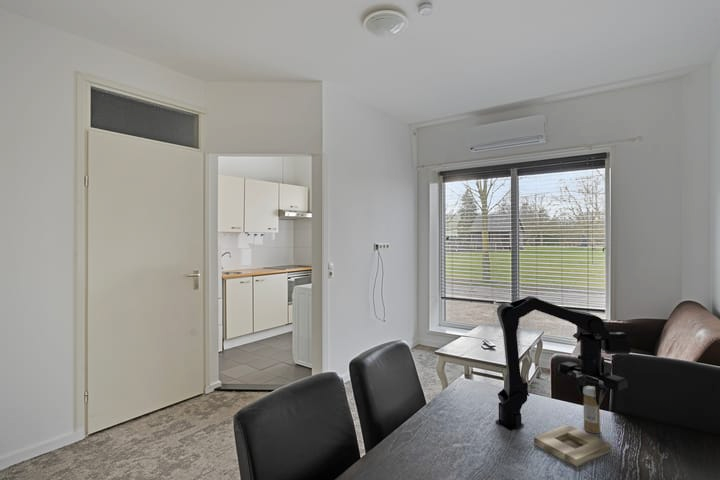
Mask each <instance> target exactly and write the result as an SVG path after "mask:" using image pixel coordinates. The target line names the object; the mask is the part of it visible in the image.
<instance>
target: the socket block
mask: <svg viewBox="0 0 720 480" xmlns="http://www.w3.org/2000/svg"><path fill="white" fill-rule="evenodd" d="M533 444H534V445H536V446H538V447H540V448H541V449H543V450H545V451H547V452H548V453H550V454H552V455H554V456H555V457H557V458H559V459H561V460H563V461H564V462H566V463H567V464H571V465H572V466H573V467H576V468H578V467H580V466H583V465H584V464H586V463H588V462H590V461H593V460H595V459H596V458H600V457H601V456H603V455H605V454H607V453H608V454H609V452H611V451H612V446H611V443H609V442H607V441H605V440H603V439H600V438H598V437H596V436H594V435H593V434H590V433H589V432H588V433H587V432H585V431H583V430H581V429H579V428H576V427H575V426H572V425H569V423H568V424H567V423H566V424H565V425H563V426H559V427H556V428H555V429H551V430H549V431H546V432H543V433H541V434H538V435H535V436H533Z"/></svg>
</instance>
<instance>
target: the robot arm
mask: <svg viewBox="0 0 720 480" xmlns="http://www.w3.org/2000/svg"><path fill="white" fill-rule="evenodd" d="M533 311H537V312H540V313H544V314H546V315H549V316H552V317H555V318H557V319H560V320H563V321H566V322H568V323H571V324H573V325H574V326H576V327H578V328H580V329H582V330H584V331H586V332H588V333H585V332H584V333H583V332H582V331H581V330H577V332H575V333H574V334H572V337H573V338H574V339H576V340H578V341H579V344H580V345H579V347H580V349H579V353H580V354H579V355H577V360H580V364H578V363H576V362H571V361H565V362H561V363H560V364H559V365H558V372H559V373H560V374H564V375H568V378H569V379H570V380H571V381H572V382H573V384H574V385H575V387H576V389H577V391H578V393H579V395H580V397H581V399H582V400H583V401H584V394H583V387H584V386H587V385H586V383H587V382H586V381H587V380H588V379H589V378H590V379H593V380H596V381H598V383H597V384H594V387H595V392H596V401H597V405H599V406H601V404H602V402H603V400H604V397H605V395H606V393H607V391H608V390H612V391H614V392H616V391H617V392H618V391H619V392H620V391H621V390H624V389H627V388H628V387H629V385H628V383H629V382H628V381H627V379H626V378H625V377H622V376H619V375H615V374H612V371H613V363H610V362H606V361H605V357H604V356H602V351H604V353H605V354H606V355H622V356H623V355H624V356H625V355H627V356H628V355H629V354H630V352H631V350H632V349H631V348H632V346H631V345H630V341H629V339H628V337H627V333H625V332H623V331H618V332H610V331H609V330H607V328H606V327H605V322H604V321H603V319H602V317H599V316H597V315H596V314H593V313H591V312H588V311H587V312H586V311H581V310H574V309H573V310H572V309H568V308H565V307H562V306H560V305H557V304H554V303H551V302H548V301H545V300H542V299H540V298H538V297H536V296H533V295H529V296H525V297H524V298H522V299H521V298H520V299H517V300H514V301H511V302H509V303H508V302H506V303H505V302H504V303H501V304H499V305H498V307H497V308H496V314H497V318H498V322H499V324H500V327H501V330H502V335H503V345H504V357H505V365H506V374H505V378H504V386H503V387H504V388H502V390H500V391H499V392H498V393H497V397H498V399H499V401H500V402H498V419H497V420H495V421H494V422H495V423H496V424H498V425H499V426H501V427H503V428H504V429H506V430H509V431H514V430H518V429H520V428H522V427H524V426H525V425H524V423H523V422H522V413H521V410H522V407H523V405H524V404H525V403H526V402H527V401H528V397H529V396H530V394H529V390H528V389H529V383H528V381H527V380H526V379H525V378H524V376H521V365H520V357H519V348H518V347H519V345H518V335H517V332H518V328H519V324H520V319H521V318H524V317H525V316H527V315H528V314H530V313H531V312H533ZM596 335H597V336H596ZM606 374H609V375H607V376H606ZM587 378H588V379H587Z"/></svg>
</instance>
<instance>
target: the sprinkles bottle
mask: <svg viewBox="0 0 720 480" xmlns="http://www.w3.org/2000/svg"><path fill="white" fill-rule="evenodd" d="M583 394H584V400H583V429H584V430H585V431H586V432H588V433H591V434H599V433H601V427H600V426H601V425H600V424H601V413H600V405H597V401H596V392H595V386H593V385H592V386H591V385H586V386H584V387H583Z"/></svg>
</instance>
